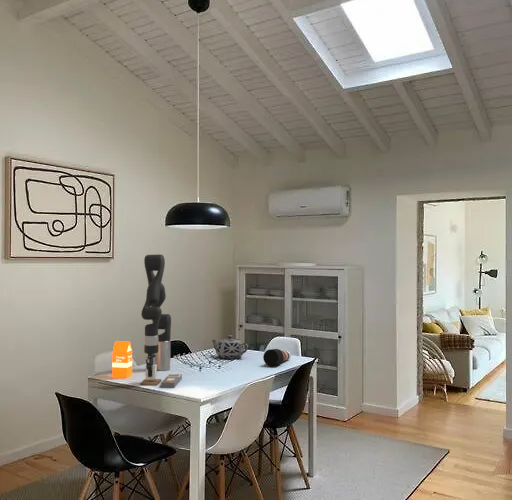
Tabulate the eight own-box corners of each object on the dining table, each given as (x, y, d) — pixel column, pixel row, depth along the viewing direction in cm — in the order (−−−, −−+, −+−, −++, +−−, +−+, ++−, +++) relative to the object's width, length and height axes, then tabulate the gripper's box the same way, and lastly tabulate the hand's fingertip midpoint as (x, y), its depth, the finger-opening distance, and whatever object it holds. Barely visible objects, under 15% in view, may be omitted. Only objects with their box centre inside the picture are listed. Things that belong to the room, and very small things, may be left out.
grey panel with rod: (172, 375, 315) (172, 370, 315) (184, 375, 315) (184, 370, 315) (160, 387, 285) (160, 381, 285) (174, 387, 285) (174, 381, 285)
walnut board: (145, 381, 301) (145, 378, 301) (161, 381, 300) (161, 379, 300) (140, 385, 291) (140, 382, 291) (157, 385, 290) (157, 383, 290)
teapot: (217, 353, 392) (218, 332, 392) (255, 357, 376) (255, 335, 377) (202, 357, 375) (202, 335, 376) (240, 361, 360) (240, 338, 360)
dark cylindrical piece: (292, 365, 372) (298, 352, 371) (273, 368, 341) (280, 354, 340) (280, 357, 376) (286, 344, 375) (260, 360, 345) (267, 346, 344)
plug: (147, 377, 298) (147, 361, 298) (156, 377, 298) (156, 361, 298) (145, 378, 294) (145, 362, 294) (154, 379, 294) (155, 363, 294)
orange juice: (117, 375, 316) (117, 340, 316) (132, 375, 315) (132, 340, 315) (111, 377, 308) (112, 342, 309) (126, 378, 307) (127, 342, 307)
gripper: (147, 341, 303) (147, 373, 303) (141, 345, 289) (140, 378, 289) (161, 342, 303) (160, 373, 303) (155, 346, 289) (155, 379, 288)
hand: (151, 375), depth 296 cm, fingers closed on plug, 3 cm apart
